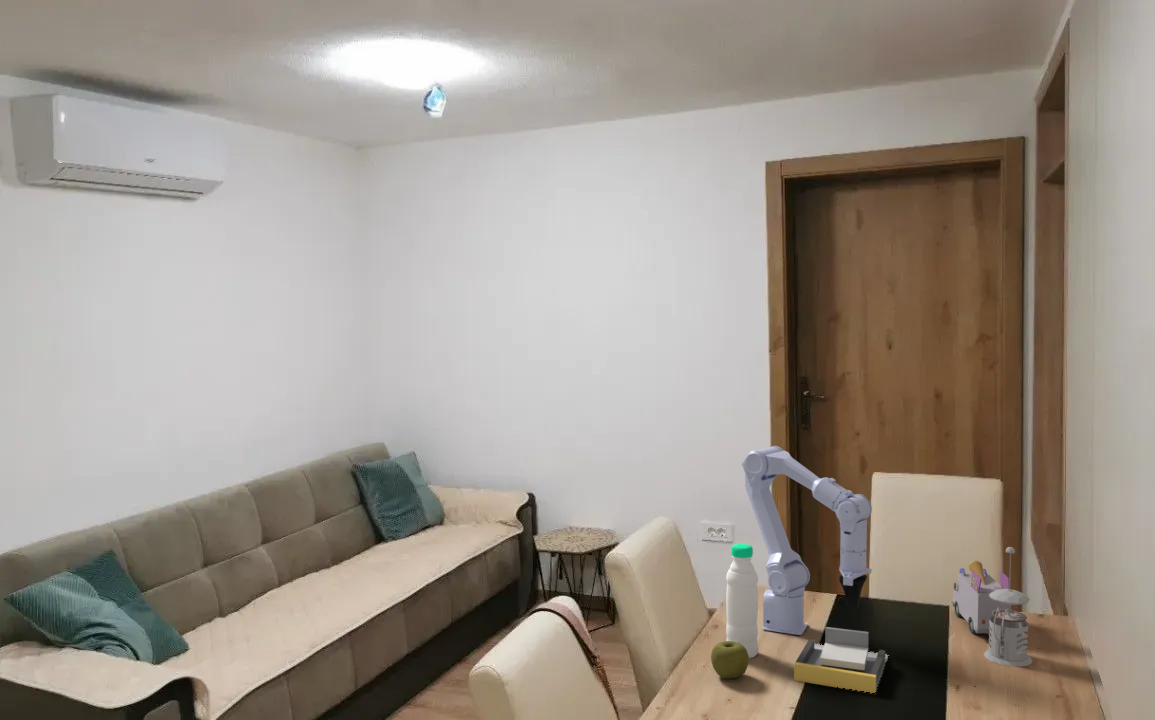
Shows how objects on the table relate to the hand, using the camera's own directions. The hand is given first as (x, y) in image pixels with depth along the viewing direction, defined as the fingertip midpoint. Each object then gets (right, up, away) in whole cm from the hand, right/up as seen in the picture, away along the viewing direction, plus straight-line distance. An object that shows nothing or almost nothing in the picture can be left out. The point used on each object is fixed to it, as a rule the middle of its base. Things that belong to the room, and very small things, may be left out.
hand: (852, 607), depth 211 cm
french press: (+32, -10, -7) cm, 34 cm away
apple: (-31, -11, -15) cm, 36 cm away
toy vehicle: (+35, -8, +13) cm, 38 cm away
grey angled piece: (-6, -9, -13) cm, 17 cm away
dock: (-5, -10, -10) cm, 15 cm away
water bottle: (-26, -10, -2) cm, 28 cm away
